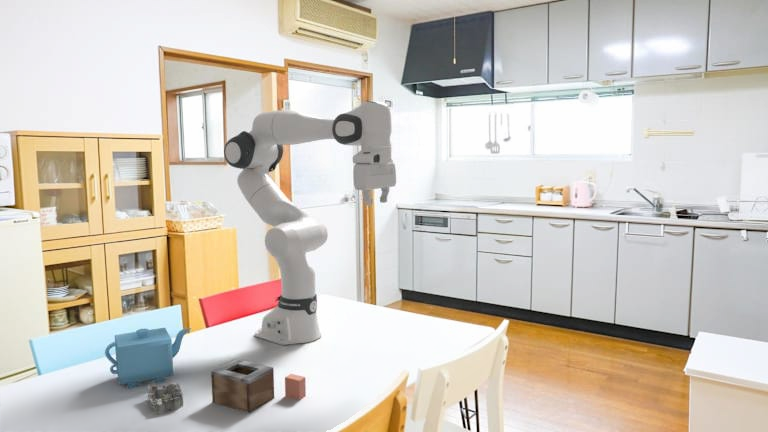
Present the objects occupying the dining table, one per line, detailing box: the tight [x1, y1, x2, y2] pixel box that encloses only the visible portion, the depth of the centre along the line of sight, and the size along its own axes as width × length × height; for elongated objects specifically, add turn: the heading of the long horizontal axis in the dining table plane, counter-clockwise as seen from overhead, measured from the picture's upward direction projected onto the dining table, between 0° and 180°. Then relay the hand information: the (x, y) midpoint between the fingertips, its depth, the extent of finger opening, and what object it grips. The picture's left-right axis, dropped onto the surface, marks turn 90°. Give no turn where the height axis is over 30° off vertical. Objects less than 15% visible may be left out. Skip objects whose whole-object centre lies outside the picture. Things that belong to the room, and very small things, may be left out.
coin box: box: [210, 358, 275, 414], centre depth 137 cm, size 12×9×8 cm
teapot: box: [104, 327, 192, 389], centre depth 151 cm, size 22×11×14 cm, turn 120°
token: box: [284, 373, 307, 400], centre depth 140 cm, size 4×2×5 cm, turn 62°
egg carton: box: [147, 382, 185, 414], centre depth 136 cm, size 11×8×4 cm
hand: (376, 203), depth 163 cm, fingers open, 8 cm apart
